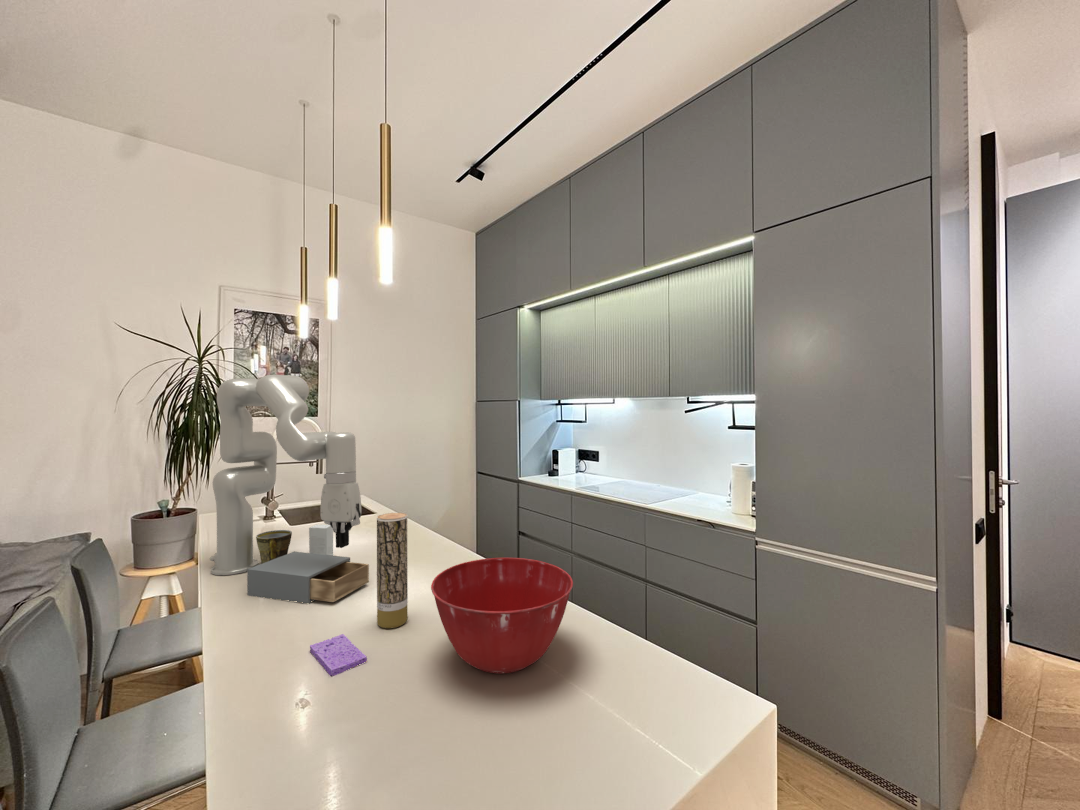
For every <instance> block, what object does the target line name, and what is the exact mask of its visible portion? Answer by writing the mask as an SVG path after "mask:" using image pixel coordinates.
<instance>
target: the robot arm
mask: <svg viewBox="0 0 1080 810" xmlns="http://www.w3.org/2000/svg"><path fill="white" fill-rule="evenodd" d="M216 393H217V394H216V404H217V408H218V413H219V417H220V419H219V420H220V423H219V425H220V427H219V428H220V429H219V457H220V458H221V461H223V462H225V463H228V464H242V463H250V462H251V463H253V465H242V466H235V467H228V468H225V469H222V470H219V471H218V472H217V473H215V475H214V477H213V478H212V489H213V494H214V498H215V508H216V553H214V554H213V555H211V556H210V558H209V561H212V562H214V565H212V567H211V568H210V574H212V575H215V576H230V575H238V574H241V573H247V569H249V568H252V567H255V566H257V565H260V563H259V562H260V561H259V560H258V559H255V558H254V512H253V508H252V506H251V504H250V503H249V502H248V501H247V499H246V498H247V497H249V496H255V495H261V494H266V493H268V492H270V491H272V490H273V489H274V487H275V484H276V479H277V460H278V459H277V458H278V456H277V455H278V448H277V447H278V446H277V441H278V443H279V446H281V448H282V449H283V450H284V451H285V452H286V454H287V455H288V456H289V457H290V458H291V459H294V460H295V461H298V462H306V461H316V460H325V473H324V474H323V478H324V479H325V483H324V484H323V486H322V491H321V497H320V498H321V499H320V507H319V509H320V520H322V521H323V523H324V525H330V526H331V527H332V528H333V533H335V548H338V549H342V548H344V547H348V546H349V544H350V531H351V530H352V528H353V527H356V526H358V525H360V524H361V520H360V519H361V517H362V499H361V498H362V497H361V491H360V486H359V483H358V482H357V462H356V461H357V454H356V452H357V451H356V444H357V443H356V435H355V434H354V433H352V432H336V431H335V432H334V431H315V432H313V431H311V432H310V431H309V432H301V431H300V430H299V429H298V427H297V426H296V425H297V424H299V423H300V422H301V421H303V420H304V419H305V418H306V417H307V414H308V412H309V406H308V404H307V402H306V400H307V399H308V397H309V395H310V388H309V385H308V383H307V382H306V380H305V379H304V378H302V377H300V376H298V375H297V376H296V375H286V374H267V375H264V376H261V377H260V378H248V377H247V378H246V377H245V378H244V377H243V378H242V377H241V378H230V379H227V380H225V381H223V382H222V383H221V384H220V386H219V387H218V390H217V392H216ZM247 407H267V408H268V409H269V410H270V412H271V413H272V415H274V417H276V418H275V419H277V421H276V425H275V426H276V427H275V433H276V439H277V441H276V439H275V437H274V436H273V435H272V434H271V433H270V432H266V431H253V428H254V427H253V426H254V419H253V416H252V414H251V412H250V411H249V410H248V408H247Z"/></svg>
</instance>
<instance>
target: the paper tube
mask: <svg viewBox="0 0 1080 810" xmlns="http://www.w3.org/2000/svg"><path fill="white" fill-rule="evenodd" d="M408 584H409V583H408V513H405V512H386V513H383V514H378V515H377V517H376V614H377V615H376V621H377V622H376V623H377V625H378V626H379V627H380V628H382V629H395V628H399V627H401V626H403V625H404V624H405V623H406V622H407V621H408V618H409V617H408V602H409V601H408V599H409V598H408V589H409V587H408V586H409V585H408Z"/></svg>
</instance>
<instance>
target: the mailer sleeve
mask: <svg viewBox="0 0 1080 810" xmlns="http://www.w3.org/2000/svg"><path fill="white" fill-rule="evenodd" d="M344 562H351V557H349V556H341V555H339V556H338V555H334V554H333V555H323V554H314V553H309V552H304V551H303V552H302V551H292V552H290V553H287V554H286V555H284V556H281V557H278V558H276V559H273V560H270V561H268V562H265V563H263V564H262V563H259V565H257V566H255V567H252V568H249V569H247V571H246V573H247V575H246V576H247V577H246V578H247V579H246V580H247V584H246V585H247V590H246V591H247V593H246V594H247V596H249V597H250V596H251V597H256V596H257V598H263V597H265V598H264V599H270V598H272V599H271V600H276V599H281V600H280V601H283V600H289V601H288V602H290V601H297V602H303V603H302V604H304V603H309V604H311V603H312V602H311V601H313V600H314V599H310V578H311V577H314V576H316V575H318V574H320V573H322V572H324V571H326V570H329V569H331V568H333V567H335V566H337V565H339V564H342V563H344ZM297 602H296V603H297ZM310 602H311V603H310ZM313 602H314V601H313Z"/></svg>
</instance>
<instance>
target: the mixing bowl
mask: <svg viewBox="0 0 1080 810" xmlns="http://www.w3.org/2000/svg"><path fill="white" fill-rule="evenodd" d="M573 587H574V581H573V578H572V577H571V575H570V574H569V573H568V572H567V571H566V570H564V569H563V568H561V567H559V566H557V565H554V564H552V563H548V562H545V561H541V560H536V559H529V558H523V557H492V558H491V557H490V558H480V559H475V560H469V561H464V562H462V563H461V562H460V563H459V564H455V565H453V566H451V567H448V568H446V569H444V570H442V571H441V572H440V573H438V574H437V575H436V576H435V577H434V578H433V580H432V582H431V584H430V590H431V592H432V596H433V597H434V601H435V604H436V608H437V611H438V614H439V618H440V621H441V624H442V627H443V629H444V631H445V633H446V635H447V637H448V640H449V642H450V643H451V645H452V647H453V648H454V650H455V652H456V654H457V655H458V656H459V657H460V659H461V660H463V661H464V662H465V663H467V664H468V665H469V666H472V667H474V668H476V669H478V670H480V671H482V672H486V673H491V674H499V675H500V674H511V673H512V674H513V673H515V672H518V671H522V670H523V669H526V668H527V667H528V666H530V665H532V664H534V663H536V662H537V661H538V660H540V659H541V658H542V657H543V656H544V655H545V654H546V652H547V651H548V649H549V648H550V646H551V644H552V642H553V640H555V637H556V635H557V633H558V631H559V628H560V626H561V623H562V621H563V618H564V615H565V612H566V610H567V609H566V608H567V605H568V602H569V598H570V593H571V591H572V589H573Z"/></svg>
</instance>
